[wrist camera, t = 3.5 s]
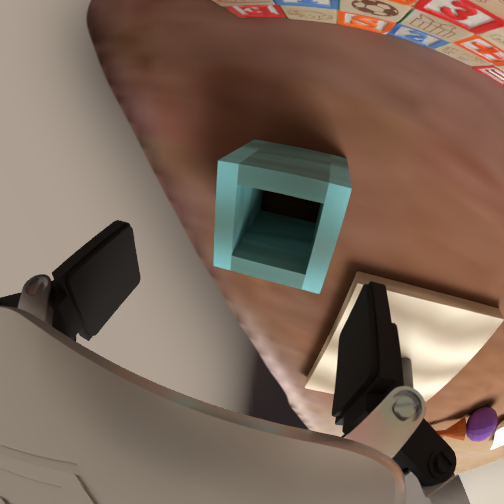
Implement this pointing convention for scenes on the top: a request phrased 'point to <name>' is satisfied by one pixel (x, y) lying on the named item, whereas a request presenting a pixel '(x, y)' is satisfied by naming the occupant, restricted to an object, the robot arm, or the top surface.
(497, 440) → the salad plate
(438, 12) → the stack of blocks
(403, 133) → the top surface
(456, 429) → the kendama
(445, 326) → the cream peg stand
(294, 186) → the open box
